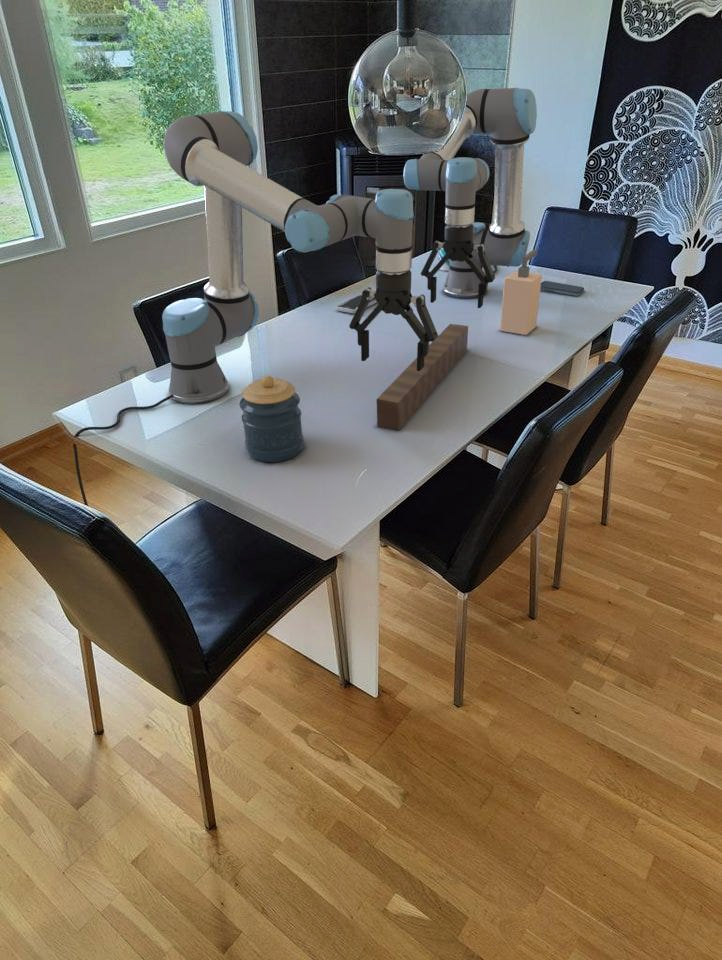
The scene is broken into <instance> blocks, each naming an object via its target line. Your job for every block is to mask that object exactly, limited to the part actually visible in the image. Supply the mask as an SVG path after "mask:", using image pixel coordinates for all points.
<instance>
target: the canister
mask: <svg viewBox="0 0 722 960" xmlns="http://www.w3.org/2000/svg"><path fill="white" fill-rule="evenodd" d="M241 395H242V398H241V399H240V401H239V408H240V410H241V411H242V415H241V421H242V424H243V430H244V439H245V441H244V444H245V448H246V450H247V454H248V455H249V456H250V458H252V459H254V460H256V461H260V462H265V463H275V462H276V463H277V462H283V461H287V460H289V459H293V458H294V457H296V456H297V455H298V454H300V453H301V452H302V450H303V448H304V443H305V439H304V434H303V426H302V410H301V408H300V407H299V404H300V402H301V396H300V395H299V394H298V393H297V392H296V387H295V385H294V384H292V383H290V382H289V381H286V380H285V379H282V378H277V377H272V376H271V375H268V374H267V375H264V376H263V377H262V378H260V379H257V380H254V381H253V382H251V383H250V384H248V385H247V386H246V387H245V388H244V389H242V392H241Z"/></svg>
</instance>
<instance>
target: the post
mask: <svg viewBox="0 0 722 960" xmlns="http://www.w3.org/2000/svg"><path fill="white" fill-rule="evenodd" d="M468 334H469V325H462V324H455V323H450V324H448V325H447V326H446V327H445V329H443V330H442V331H441V333H439V334H438V337H437V338H436V339H435V340H434V341H433V342H430V343H429V353H428V355H427V356H426V357H424V367H423V368H422V369H421V370H420V371H417V357H416V358H415V359H414V360H412V362H411V363H410V364H409V365H408V366H407V367H406V368H405V369H404V370H403V371H402V372H401V373H400V375H398V376H397V377H396V379H394V381H393V382H392V383H390V385H389V386H388V387H387V388H386V389H385V390H384V391H382V393H381V394H380V395H379V396H378V397H377V398H376V422H377V423H376V426H377V428H383V429H388V430H393V431H397V432H398V431H400V429H401V428H402V427H403V426H404V425H405V424H406V422H407V421H408V420H409V419H410V418H411V416H412V415H413V414H414V413H415V412H416V411H417V410H418V408H419V407H420V406H421V405H422V404H423V402H424V401H425V400H426V399H427V398H428V396H429V395H430V394H431V393H432V392H433V390H435V388H436V387H437V386H438V384H440V382H441V381H442V380H443V379H444V377H445V376H446V375H447V374H448V373H449V371H450V370H451V369H453V367H454V366H455V365H456V364H457V362H458V361H459V360H460V358H461V357H462V356H463V355H464V354H465V353H466V352H467V350H468V339H469V337H468V336H469V335H468Z"/></svg>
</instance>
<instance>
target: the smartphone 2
mask: <svg viewBox="0 0 722 960" xmlns="http://www.w3.org/2000/svg"><path fill="white" fill-rule="evenodd" d="M540 291H545V292H551V293H557V294H562V295H568V296H574V297H579V296H580V295H581V294H582V293H584V292H585V287H583V286H580V285H572V284H567V283H561V282H555V281H549V280H543V281H541V288H540Z"/></svg>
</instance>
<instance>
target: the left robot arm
mask: <svg viewBox="0 0 722 960" xmlns="http://www.w3.org/2000/svg"><path fill="white" fill-rule="evenodd" d="M258 149H259V147H258V140H257V136H256V133H255V131H254V128H253V126H252V125H251V124H250V121H248V120H247V118H245V116H244V115H242V114H241V113H239V112H237V111H228V110H227V111H226V110H217V111H214V112H206V113H200V114H192V115H191V114H190V115H183V116H180V117H178V118H176V119H175V120H174V121H173V122H171V123H170V125H169V126H168V127H167V129H166V131H165V133H164V137H163V152H164V156H165V159H166V162H167V164H168V165H169V167H170V168H171V170H173V172H174V173H175V174H177V175H178V176H179V177H180V178H181V179H182V180H184V181H186V182H188V183H189V184H191V185H192V186H195V187H204V204H205V222H206V240H207V241H206V243H207V259H208V278H209V281H208V282H207V283H206V284H205V285H204V287H203V296H204V297H203V298H199V297H189V298H186V299H180V300H176V301H174V302H172V303H171V304H168V306H166V308H164V310H163V312H162V316H161V318H162V330H163V333H164V336H165V341H166V345H167V352H168V356H169V361H170V367H171V369H170V370H171V371H170V377H169V386H168V393H169V396H167V397H164V398H163V399H161V400H159V401H158V402H156V403H154V404H152V405H146V406H127V407H125V408H122V409H120V410H119V411H118V412H117V415H116V422H115V423H113V424H110V425H108V426H87V427H86V426H85V427H83V428H80V429H79V430H78V431H77V432H75V434H74V435H73V436H74V438H78V437H79V436H80V434H82V433H83V432H86V431H92V430H94V431H96V430H98V431H103V430H104V431H105V430H111V429H114V428H116V427H117V426H118V425H119V424H120V422H121V415H122V414H123V413H124V412H126V411H127V412H128V411H131V410H151V409H153V408H156V407H158V406H160V405H161V404H164V403H165V402H167V401H169V400H173V401H175V402H177V403H180V404H188V405H189V404H190V405H196V404H197V405H198V404H204V403H208V402H212V401H214V400H217V399H219V398H221V397H223V396H224V395H225V394H227V392H228V391H229V383H228V379H227V378H226V375H225V374H224V372H223V370H222V368H221V366H220V363H219V362H218V358H217V352H216V347H218V346H220V345H222V344H224V343H226V342H229V341H231V340H234V339H235V338H239V337H242V336H244V335H245V334H247V333H248V332H251V330H253V329H254V328H255V327H256V325H257V324H258V321H259V316H260V314H259V313H260V309H259V304H258V302H257V301H256V297H255V295H254V294H253V293H252V292H251V291H250V287H249V285H248V284H246V283H245V282H244V252H243V251H244V250H243V247H244V245H243V209H244V210H245V211H248V212H250V213H251V214H252V215H254V216H256V217H258V218H260V219H261V220H263V221H264V222H267V224H270V225H271V226H273V227H275V228H277V229H279V230H280V231H282V232H283V233H284V234H285V238H286V240H287V242H288V243H289V244H290V246H291V247H292V249H293V250H295V251H297V252H299V253H308V252H316V251H318V250H322V249H323V248H325V247H328V246H331V245H334V244H336V243H339V242H342V241H344V240H347V239H350V238H353V237H357V236H358V237H365V238H370V239H375V269H376V271H375V290H373V289H372V287H369V286H368V287H366V288H365V289H363V290H362V291H361V295H362V299H361V302H360V304H359V306H358V308H357V310H356V312H355V313H354V314H353V317H352V319H351V321H350V323H349V325H348V327H349V328H350V329H351V330H355V331H356V333H357V345H358V346H359V347H360V350H361V351H360V360H361V362H365V361H366V360H367V359H368V358H370V330H369V329H367V327H368V326H370V324H371V323H372V322H373V321H374V320H375V319H376V318H377V317H378V316H379V314H380V313H381V312H384V314H386V315H387V314H392V315H394V316H401V317H402V318H403V319H404V320H405V321H406V322H407V324H408V325H409V327H410V328H411V329H412V331H413V332H414V333H415V335H416V337H417V338H418V339H419V341H418V342H417V347H416V349H417V350H416V358H417V371H420V370H421V369H422V368H423V367H424V357H426V356H427V355H428V353H429V345H430V343H432V342H433V341H434V340H435V339H436V338H437V337H438V336H439V334H438V331H437V328H436V326H435V324H434V322H433V319H432V317H431V315H430V312H429V310H428V307H427V304H426V303H427V302H426V296H425V294H420V295H412V291H411V290H412V271H411V269H412V266H413V264H412V263H413V226H414V225H413V224H414V217H415V213H414V197H413V194H412V192H410V191H409V190H408V189H402V188H385V189H381V190H378V191H377V192H376V194H375V198H369V197H363V196H357V195H351V194H333V195H332V196H330V197H329V200H327V201H326V203H324V204H321V205H317V204H315V203H313V202H311V201H310V200H307V199H305V198H304V197H302V196H300V195H299V194H296V193H295V192H293V191H291V190H289V189H288V188H286V187H285V186H283V185H281V184H279V183H277V182H276V181H274V180H272V179H270V178H268V177H267V176H265V175H263V174H261V173H259V172H258V171H256V170H254V169H253V168H251V167H249V166H250V165H252V164H253V163H254V161H255V160H256V158H257V155H258V151H259V150H258ZM373 297H374V298H375V299H376V301H377V305H376V306H375V308H373V310H372V311H371V312H370V313H369V314H368V316H366V318H364V320H363V321H362V322H361V320H362V319H363V316H364V314H365V312H366V310H367V308H368V307H367V306H368V304H369V302H370V300H371V299H372V298H373ZM411 303H413V306H414V307H415V308H416V312H417V314H418V316H419V318H418V317H417V315H416V314H415V312H414V309H413V307H412V306H411ZM419 319H420V320H419ZM77 447H78V446H77V444H76V443H74V442H73V443H72V448H73V455H74V462H75V464H74V465H75V469H76V470H75V471H76V476H77V481H78V485H79V489H80V493H81V497H82V501H83V503H84V506H85V505H87V506H88V507H89V504H88V500H87V497H86V493H85V489H84V486H83V481H82V476H81V469H80V464H79V454H78V453H79V452H78V448H77Z"/></svg>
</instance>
